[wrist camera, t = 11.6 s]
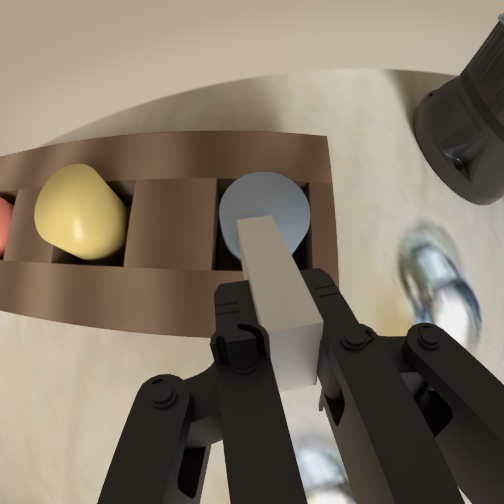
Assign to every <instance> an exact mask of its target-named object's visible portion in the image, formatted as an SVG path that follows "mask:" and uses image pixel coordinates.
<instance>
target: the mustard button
mask: <svg viewBox="0 0 504 504" xmlns="http://www.w3.org/2000/svg"><path fill="white" fill-rule="evenodd" d="M34 220H35V225H36V229H37V231H38V233H39V235H40V236H41V237H42V238H43V239H44V240H45V241H47V242H49V243H51V244H53V245H55V246H57V247H59V248H61V249H63V250H65V251H67V252H69V253H71V254H73V255H75V256H77V257H79V258H81V259H83V260H85V261H88V262H90V263H94V264H101V263H106V262H108V261H110V260H112V259H114V258H115V257H117V256H118V255H119V254H120V253H121V252H122V251H123V249H124V248H125V247H126V243H127V235H128V228H129V221H130V211H129V209H128V208H127V206H126V205H125V204H124V203H123V202H122V201H121V199H120V198H119V197H118V196H117V195H116V194H115V193H114V192H113V190H112V189H111V188H110V187H109V186H108V185H107V184H106V182H105V181H104V180H103V179H102V178H101V177H100V175H99V174H98V173H97V172H96V171H95V170H94V169H93V168H92V167H90V166H88V165H85V164H72V165H69V166H66V167H64V168H62V169H60V170H59V171H57V172H56V173H55V174H54V175H53V176H51V178H50V179H49V180H48V181H47V182H46V183H45V185H44V186H43V188H42V190H41V192H40V194H39V196H38V198H37V202H36V205H35V212H34Z"/></svg>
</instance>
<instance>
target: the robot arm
mask: <svg viewBox="0 0 504 504" xmlns="http://www.w3.org/2000/svg"><path fill="white" fill-rule="evenodd" d="M498 19H499V22H498V23H497V25H496V26H495V27H494V29H493V30H492V32H491V33H490V34H489V36H488V37H487V39H486V40H485V42H484V43H483V44H482V46H481V47H480V49H479V50H478V51H477V53H476V54H475V55H474V57H473V58H472V59H471V61H470V62H469V63H468V65H467V66H466V67H465V69H464V70H463V71H462V73H461V74H460V75H459V76H458V77H456V78H454V79H453V80H451V81H449V82H447V83H446V84H444V85H443V86H441V87H440V88H439V89H437V90H434V91H431V92H430V93H428V94H427V95H426V96H425V97H424V98H423V100H422V101H421V102H420V104H419V105H418V107H417V108H416V110H415V113H414V130H415V134H416V137H417V140H418V143H419V145H420V147H421V149H422V151H423V153H424V155H425V157H426V158H427V160H428V162H429V163H430V165H431V166H432V168H433V169H434V170H435V172H436V173H437V174H438V175H439V177H440V178H441V179H442V180H443V181H444V182H445V183H446V184H447V185H448V186H449V187H450V188H451V189H452V190H453V191H454V192H456V193H457V194H458V195H460V196H461V197H462V198H464V199H466V200H468V201H469V202H472V203H474V204H478V205H489V204H492V203H493V202H495V201H497V200H498V199H500V198H502V197H503V196H504V13H503V14H500V15H499V16H498ZM237 228H238V236H239V245H240V253H241V261H242V269H243V276H244V280H243V281H237V282H230V283H223V284H219V286H218V287H217V289H216V291H215V293H214V305H215V321H216V331H215V333H214V334H213V335H212V337H211V342H210V346H211V350H212V354H213V357H214V362H213V364H212V365H211V366H210V367H209V368H208V369H207V370H205V371H204V372H202V373H200V374H198V375H196V376H193V377H190V378H188V379H185V380H182V379H181V378H180V377H178V376H174V375H171V374H162V375H158V376H155V377H152V378H150V379H149V380H147V381H146V382H145V383H143V384H142V386H141V388H140V389H139V391H138V393H137V395H136V398H135V400H134V403H133V405H132V408H131V410H130V413H129V415H128V418H127V421H126V423H125V426H124V429H123V431H122V434H121V437H120V439H119V442H118V445H117V447H116V450H115V453H114V456H113V458H112V461H111V464H110V467H109V470H108V473H107V476H106V479H105V481H104V484H103V487H102V490H101V493H100V496H99V500H98V503H97V504H200V499H201V494H202V489H203V484H204V479H205V474H206V469H207V464H208V459H209V454H210V449H211V444H213V443H216V442H218V441H220V440H223V445H224V454H225V463H226V471H227V479H228V487H229V495H230V502H231V504H307V500H306V496H305V492H304V488H303V484H302V480H301V477H300V473H299V469H298V465H297V461H296V457H295V453H294V449H293V445H292V441H291V437H290V434H289V430H288V426H287V422H286V418H285V414H284V410H283V406H282V402H281V398H280V394H279V392H282V391H287V390H293V389H297V388H302V387H307V386H311V385H316V382H317V375H318V378H319V380H320V383H321V386H322V390H321V395H320V401H319V411H323V407H324V408H325V411H326V414H327V417H328V420H329V423H330V426H331V428H332V431H333V434H334V437H335V440H336V443H337V446H338V449H339V452H340V455H341V458H342V461H343V464H344V467H345V470H346V473H347V476H348V479H349V482H350V485H351V488H352V491H353V494H354V497H355V500H356V503H357V504H465V502H464V500H463V498H462V495H461V493H460V491H459V489H458V487H459V488H460V490H461V491H462V492H463V493H464V494H465V496H466V497H467V498H468V499H469V500H470V502H471V503H472V504H504V385H503V384H502V383H501V382H500V381H499V380H498V379H497V378H496V377H495V376H494V375H493V374H492V373H491V372H490V371H489V370H488V369H487V368H485V367H484V366H483V365H482V364H481V363H480V362H479V361H478V360H477V359H476V358H475V357H474V356H472V355H471V354H470V353H469V352H468V351H467V350H466V349H465V348H464V347H462V346H461V345H460V344H459V343H458V342H457V341H456V340H455V339H453V338H452V337H451V336H450V335H449V334H448V333H446V332H445V331H444V330H443V329H441V328H440V327H438V326H437V325H434V324H430V323H419V324H416V325H413V326H412V327H411V328H410V329H409V330H408V333H407V336H397V337H387V336H379V335H377V334H376V333H375V332H374V331H373V330H372V328H370V327H368V326H366V325H364V324H359V322H358V321H357V319H356V317H355V316H354V314H353V312H352V311H351V309H350V307H349V306H348V304H347V302H346V301H345V299H344V297H343V296H342V294H340V291H339V289H338V287H337V286H336V284H335V282H334V281H333V279H332V278H331V276H330V275H329V274H328V273H326V272H325V271H323V270H322V269H320V268H314V269H308V270H302V271H299V270H298V268H297V265H296V263H295V261H294V259H293V257H292V255H291V253H290V251H289V249H288V247H287V245H286V243H285V241H284V239H283V237H282V235H281V233H280V231H279V229H278V228H277V226H276V224H275V222H274V220H273V218H272V216H271V215H269V216H261V217H253V218H246V219H239V220H237Z"/></svg>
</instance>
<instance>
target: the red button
mask: <svg viewBox="0 0 504 504" xmlns="http://www.w3.org/2000/svg"><path fill="white" fill-rule="evenodd" d="M13 209H14V205H12V204H10V203H9V202H7V201H6V200H4V199H3V198H1V197H0V260H3V259H4V253H5V247H6V241H7V236H8V231H9V226H10V222H11V217H12V213H13Z"/></svg>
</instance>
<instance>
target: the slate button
mask: <svg viewBox="0 0 504 504" xmlns="http://www.w3.org/2000/svg"><path fill="white" fill-rule="evenodd" d="M269 215H271V216H272V218H273V220H274V222H275V224H276V226H277V228H278V229H279V231H280V233H281V235H282V237H283V239H284V241H285V243H286V245H287V247H288V249H289V251H290V253H291V255H292V254H293V253H294V251H295V250H296V248H297V247H298V245H299V244H300V242H301V241H302V239H303V238H304V236H305V235H306V233H307V231H308V228H309V225H310V207H309V203H308V200H307V198H306V196H305V194H304V193H303V191H302V190H301V189H300V188H299V187H298V186H297V184H295V183H294V182H293V181H292V180H290V179H288V178H287V177H285V176H282V175H280V174H277V173H272V172H254V173H250V174H247V175H245V176H242V177H241V178H239V179H237V180H236V181H235V182H233V183H232V184H231V185H230V186H229V187H228V189H227V190H226V192H225V193H224V195H223V197H222V199H221V203H220V208H219V218H220V224H221V229H222V234H223V238H224V243H225V247H226V251H227V253H228V255H229V257H230V258H231V260H232V261H233V262H234V263H235V264H236V265H237V266H239V267H240V268H242V261H241V253H240V245H239V236H238V228H237V220H239V219H246V218H253V217H261V216H269Z"/></svg>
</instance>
